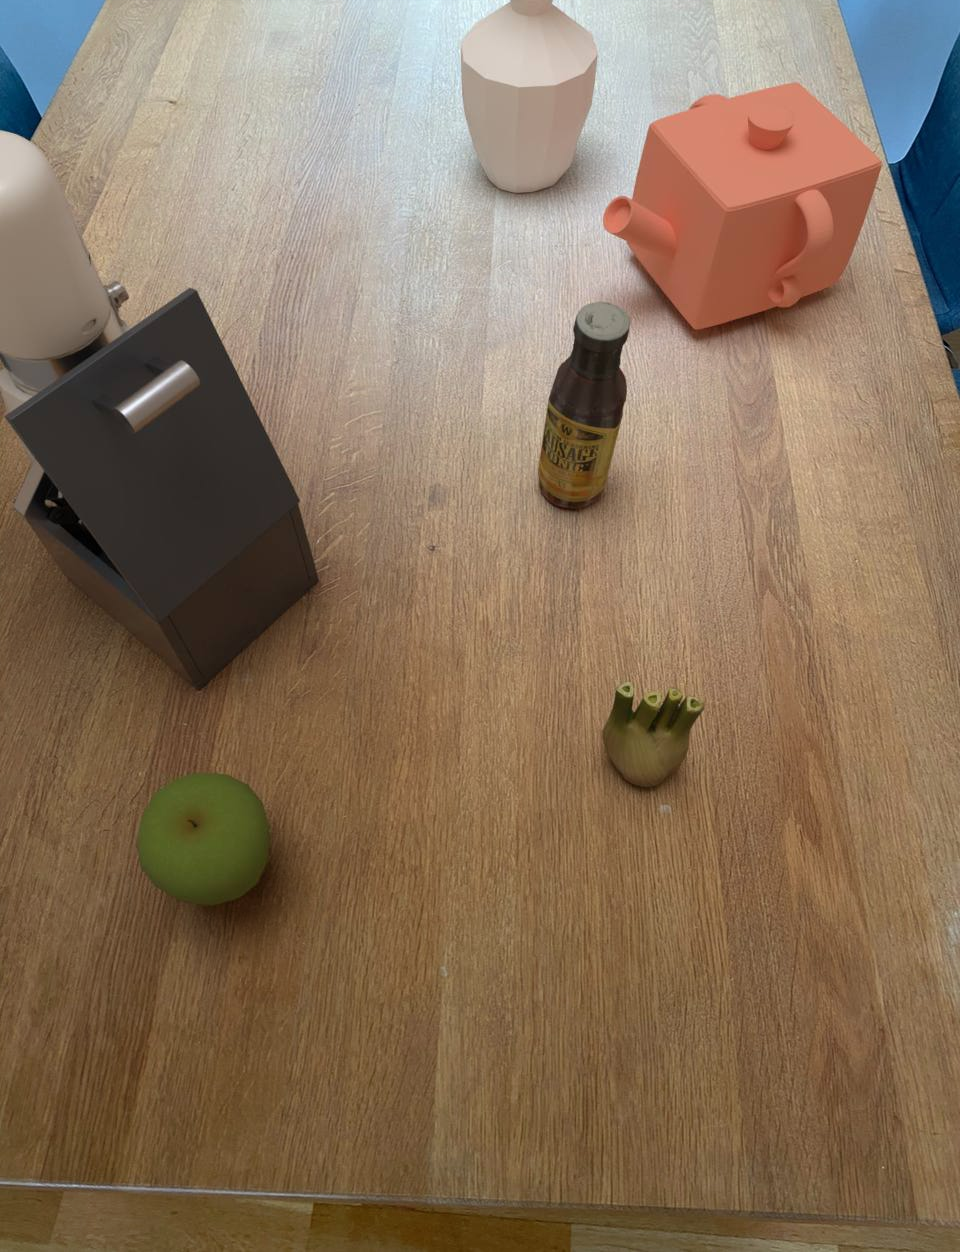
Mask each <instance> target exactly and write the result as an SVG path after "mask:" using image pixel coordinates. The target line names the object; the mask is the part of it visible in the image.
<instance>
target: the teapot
mask: <svg viewBox="0 0 960 1252" xmlns="http://www.w3.org/2000/svg"><path fill="white" fill-rule="evenodd" d="M882 166H883V162H882V159H880V158H879V157H878V156H877V155H876V154H875V153H874V152H873V151H872V150H871V149H870V148H869V147H868V146H867V145H866V144H865V143H864V142H863V141H862V140H861V139H860V138H859V137H858V136H857V135H856V134H854V132H853V131H851V129H849V127H847V125H845V124H844V123H843V122H842V121H841V120H840V119H839V118H838V117H837V116H836V115H835V114H834V113H833V112H831V110H830V109H829V108H827V107H826V106H825V105H824V104H823V103H822V102H820V101H819V100H818V99H817V98H816V97H815V96H814V95H813V94H812V93H810V91H808V90H807V89H806V88H805V87H804V86H803V85H801V83H800V82H798V81H797V82H796V81H795V82H788V83H783V84H781V85H779V84H778V85H775V86H771V87H767V88H764V89H759V90H755V91H750V92H746V93H743V94H739V95H735V96H732V97H728V98H727V97H726V96H725V95H721V94H717V93H716V94H714V93H713V94H707V95H704V96H702V97H699V98H698V99H696V100H695V101H693V103H692V104H691V105H690V107H689V108H688V109H686V110H683V111H679V112H676V113H674V114H671V115H668V116H664V117H662V118H659V119H656V120H654V121H652V122H651V123H650V124H649V126H648V129H647V133H646V136H645V141H644V144H643V149H642V152H641V157H640V161H639V164H638V168H637V172H636V178H635V181H634V185H633V191H632V197H631V198H630V197H628V196H625V195H619V196H616V197H615V198H613V199H612V200H611V201H610V202H609V203H608V205H607V206H606V207H605V210H604V213H603V217H602V225H603V228H604V230H605V231H606V232H607V233H609V234H611V235H613V236H614V237H617V238H619V239H621V240H623V241H626V244H627V246H628V248H629V249H630V251H631V252H632V253H633V254H634V256H635V257H636V259H637V260H638V261H639V262H640V264H641V265H642V267H643V268H644V269H645V270H646V272H647V273H648V274H649V276H650V277H651V278H652V279H653V281H654V282H655V283H656V284H657V285H658V287H659V288H660V289H661V290H662V292H663V294H665V296H666V297H667V298H668V299H669V301H670V302H671V303H672V304H673V306H674V307H675V308H676V310H678V312H679V313H680V314H681V316H682V317H683V318H684V319H685V320H686V321H687V323H688V324H689V325H690V326H691V327H692V329H693V330H703V329H707V328H710V327H714V326H719V325H720V326H721V325H723V324H726V323H728V322H731V321H735V320H738V319H741V318H744V317H748V316H752V315H754V314H757V313H761V312H764V311H767V310H771V309H773V308H776V307H779V308H789V307H792V306H793V305H795V304H797V302H798V301H799V300H800V299H801V298H804V297H806V296H807V297H808V296H809V295H812V294H815V293H817V292H820V291H822V290H825V289H828V288H830V287H832V286H834V285H835V284H837V283H838V282H839V281H840V279H841V278H842V276H843V273H844V271H845V270H846V268H847V266H848V264H849V262H850V259H851V258H852V254H853V253H854V251H855V247H856V244H857V242H858V239H859V236H860V234H861V231H862V228H863V225H864V222H865V220H866V217H867V214H868V211H869V207H870V204H871V202H872V199H873V196H874V192H875V189H876V186H877V183H878V179H879V177H880V174H881V170H882V168H883V167H882Z"/></svg>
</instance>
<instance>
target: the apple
mask: <svg viewBox="0 0 960 1252" xmlns="http://www.w3.org/2000/svg"><path fill="white" fill-rule="evenodd" d="M270 845H271V831H270V823H269V820H268V817H267V813H266V809H265V806H264V803H263V801H262V800H261V798H260V797H259V796H258V795H257V794H256V792H255V791H254V790H253V789H252V787H251V786H250V785H249V784H248V783H246V782H244V781H241V780H239V779H238V778H235V777H233V776H232V775H229V774H227V773H226V774H225V773H219V772H218V773H216V772H194V773H191V774H187V775H182V776H181V777H177V778H174V779H172V780H171V781H170V782H168V783H167V784H165V785H163V786H162V787H161V788H159V789H158V790H156V791H155V792H154V794H153V795H152V797H151V799H150V800H149V802H148V803H147V806H146V807H145V809H144V811H143V812H142V815H141V819H140V823H139V827H138V832H137V838H136V849H137V853H138V859H139V864H140V865H139V866H140V869H141V870H142V871H143V873H144V874H145V875H146V876H147V878H148V879H149V881H150V882H151V883H152V884H153V885H154V887H155V888H157V889H159V890H160V891H162V892H163V893H165V894H166V895H169V896H170V897H171V898H174V899H175V900H178V901H180V902H183V903H185V904H189V905H202V906H216V905H220V904H224V903H226V902H230V901H231V902H232V901H235V900H238V899H240V898H241V897H243V896H244V895H245V894H246V893H247V892H249V891H250V890H251V889H252V888H254V887H255V886H257V884H259V881H260V878H261V877H262V875H263V872H264V870H265V868H266V866H267V864H268V861H269V852H270Z"/></svg>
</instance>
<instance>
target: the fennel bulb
mask: <svg viewBox="0 0 960 1252" xmlns="http://www.w3.org/2000/svg"><path fill="white" fill-rule="evenodd" d="M634 694H635V683H633V682H632V681H625V682H622V683H620V684H618V686H617V687H616V689H615V694H614V700H613V703H612V708H611V711H610V713H609V716H608V718H607V720H606V722H605V724H604V725H603V726H604V727H603V730H602V736H601V737H602V742H603V743H602V744H603V745H604V747H605V752H606V753H607V755H608V757H609V760H610V761H611V763H612V764H613V765H614V767H615V768H616V770H617V771H618V773H619V774H620V775H621V776H622V777H623V779H624V780H625V781H626V782H628V783H630V784H632V785H634V786H637V787H643V788H652V787H656V786H659V785H660V784H661V783H663V782H664V780H665V779H666V778H667V776H669V775H672V774H673V773H675V772H676V771H677V769H679V768H680V767H681V766H682V764H683V763H684V761H685V759H686V757H687V754H688V751H689V749H690V737H691V730H692V728H693V726H694V724H695V722H696V721H697V719H698V718H699V716H701V714H702V713H703V712H704V710H705V702H704V701H703V700H702V699H701V698H699V697H696V696H694V695H690V694H687V695H686V696H685V698H683V697H684V694H683V692H682V691H681V690H680V689H678V688H676V687H673V686H671V687H669V688H668V691H667V693H666V696H665V698H664V699H663V693H662V692H661V691H660V690H659V691H658V690H652V691H650V692H647V693H645V694H644V695H643V696H642V699H641V700H640V702H639V704H638V705H637V707H636V709H635V711H634V710H633V705H634V704H633V703H634V696H635V695H634ZM662 699H663V701H662ZM682 699H683V700H682ZM681 701H682V702H681Z"/></svg>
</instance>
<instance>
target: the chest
mask: <svg viewBox="0 0 960 1252" xmlns="http://www.w3.org/2000/svg"><path fill="white" fill-rule="evenodd" d="M58 491H59V490H58V489H57V487H56V486H55V485H54V483H53V485H52V488H51V490H50V492H49V494H48V496H47V498H58ZM15 501H16V499H15V500H13V504H14V503H15ZM25 520H26V522H27V524H28V525H29V526H30V528H31V529H32V530H33V533H34V534H35V535H36V537H37V538H38V539H39V540H40V542H41V543H42V545H43V547H44V548H45V549H46V551H47V552H48V553H49V555H50V557H51V558H52V559H53V561H54V562H55V564H56V565H57V567H58V568H59V569H60V571H61V572H62V574H63V575H64V576H65V578H66V579H67V581H69V582H70V583H71V584H72V585H74V586H75V587H76V588H77V589H78V590H79V591H81V592H82V593H83V594H84V595H86V597H88V598H89V599H90V600H91V601H92V602H94V603H95V604H96V605H97V606H98V607H99V608H100V609H102V610H103V611H104V612H105V613H106V614H108V616H110V617H111V618H112V619H113V620H114V621H115V622H117V623H118V624H119V625H120V626H122V627H123V628H124V629H125V630H126V631H127V632H128V633H130V635H132V636H133V637H134V638H136V639H137V640H138V641H139V642H140V643H141V644H142V645H143V646H145V647H146V648H147V649H148V650H149V651H151V652H152V653H153V654H154V655H155V656H156V657H158V658H159V659H160V660H161V661H162V662H163V663H164V664H166V665H167V666H168V667H169V668H170V669H172V671H174V672H175V673H176V674H177V675H179V676H180V677H181V678H182V679H183V680H185V681H186V682H187V683H188V684H189V685H190V686H191V687H193V688H194V689H195V690H196V691H197V692H198V691H200V690H202V688H204V687H205V686H206V685H207V684H208V683H209V682H210V681H211V680H212V679H214V678H215V677H216V675H218V674H219V673H220V672H221V671H222V670H223V669H224V668H226V667H227V665H229V664H230V663H231V662H232V661H233V660H234V659H235V658H236V657H238V655H240V653H242V652H244V650H245V649H246V648H247V647H248V646H249V645H250V644H251V643H252V642H254V641H255V640H256V639H257V638H258V637H259V636H260V635H262V634H263V632H265V631H266V630H267V629H268V628H269V627H270V626H271V625H272V624H273V623H274V622H275V621H277V620H278V619H279V618H280V617H281V616H282V615H283V614H284V613H286V612H287V611H288V610H289V609H290V608H291V607H292V606H293V605H295V603H296V602H297V601H298V600H300V599H301V598H302V597H303V596H305V594H306V593H307V592H308V591H310V590H311V589H312V587H314V586H315V585H316V584H317V583H318V582H320V579H319V576H318V575H319V574H318V571H317V568H316V565H315V561H314V556H313V553H312V549H311V546H310V541H309V538H308V535H307V531H306V527H305V524H304V520H303V516H302V513H301V509H300V504H299V503H297V504H296V505H295V506H294V507H293V508H292V509H291V510H289V511H288V512H287V513H286V514H285V515H284V516H282V517H281V518H280V519H279V520H278V521H277V522H275V523H274V524H273V525H272V526H271V527H270V528H268V529H267V530H266V531H265V532H264V533H263V534H261V535H260V536H259V537H258V538H257V539H256V540H255V541H253V542H252V543H251V544H250V545H249V546H248V547H246V548H245V549H244V550H243V551H242V552H241V553H239V554H238V555H237V556H236V557H235V558H234V559H232V560H231V561H230V562H229V563H228V564H227V565H225V566H224V567H223V568H222V569H221V570H220V571H219V572H217V573H216V574H215V575H214V576H213V577H212V578H210V579H209V580H208V581H207V582H206V583H205V584H203V585H202V586H201V587H200V588H199V589H198V590H196V591H195V592H194V593H193V594H192V595H191V596H189V597H188V598H187V599H186V600H185V601H184V602H183V603H181V604H180V605H179V606H178V607H177V608H176V609H174V610H173V611H172V612H171V613H170V614H169V615H167V616H166V617H165V618H164V619H163V620H162V621H160V622H158V621H157V620H155V619H154V618H153V617H152V615H151V614H150V613H149V611H148V610H147V609H146V607H145V606H144V605H143V603H142V602H141V601H140V599H139V598H138V597H137V595H136V594H135V593H134V591H133V590H132V588H131V587H130V586H129V584H128V583H127V582H126V580H125V579H124V578H123V576H122V575H121V574H120V572H119V571H118V570H117V568H116V567H115V566H114V564H113V563H112V561H111V560H110V559H109V557H108V556H107V555H106V553H105V552H104V551H103V549H102V548H101V547H100V545H99V544H98V545H96V546H95V545H93V544H92V543H91V542H90V541H89V540H88V539H87V538H86V537H85V536H84V535H83V534H82V532H81V530H80V529H79V527H78V526H77V524H76V523H75V524H54V523H52V522H51V521H36V520H27V519H25Z"/></svg>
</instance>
